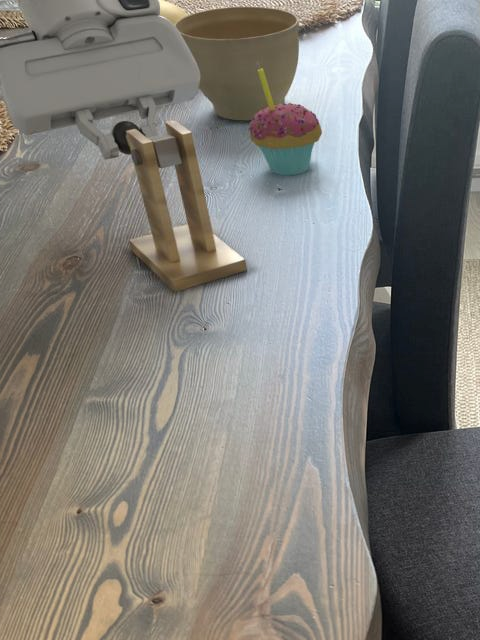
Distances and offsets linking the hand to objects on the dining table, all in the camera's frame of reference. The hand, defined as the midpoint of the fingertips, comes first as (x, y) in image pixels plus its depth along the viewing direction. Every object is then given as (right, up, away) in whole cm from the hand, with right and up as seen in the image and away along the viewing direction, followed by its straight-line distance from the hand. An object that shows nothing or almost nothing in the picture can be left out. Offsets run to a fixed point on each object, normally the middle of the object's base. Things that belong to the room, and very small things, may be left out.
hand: (133, 150), depth 106 cm
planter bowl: (+5, +22, +33) cm, 40 cm away
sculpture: (-10, +31, +44) cm, 55 cm away
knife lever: (+3, -3, -3) cm, 5 cm away
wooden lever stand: (+6, -12, 0) cm, 13 cm away
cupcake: (+13, +6, +18) cm, 23 cm away
